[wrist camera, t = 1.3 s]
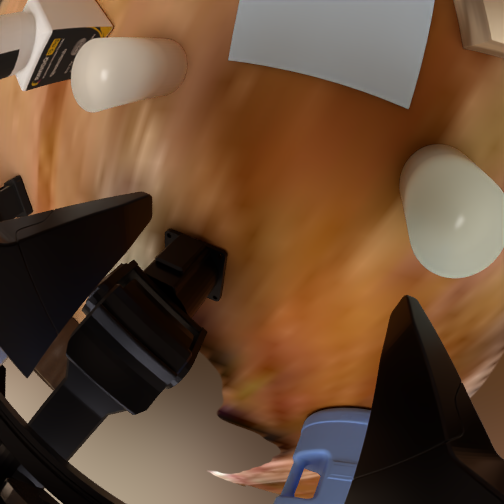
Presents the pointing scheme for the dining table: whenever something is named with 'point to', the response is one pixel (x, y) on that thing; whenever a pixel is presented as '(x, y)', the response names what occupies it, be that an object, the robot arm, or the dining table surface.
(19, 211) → the trophy
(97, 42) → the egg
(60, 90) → the dining table surface
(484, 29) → the beech block
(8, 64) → the medicine bottle
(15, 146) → the dining table surface
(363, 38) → the felt mat
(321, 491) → the water jug
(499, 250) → the pale curved piece
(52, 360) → the plant pot
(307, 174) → the dining table surface
